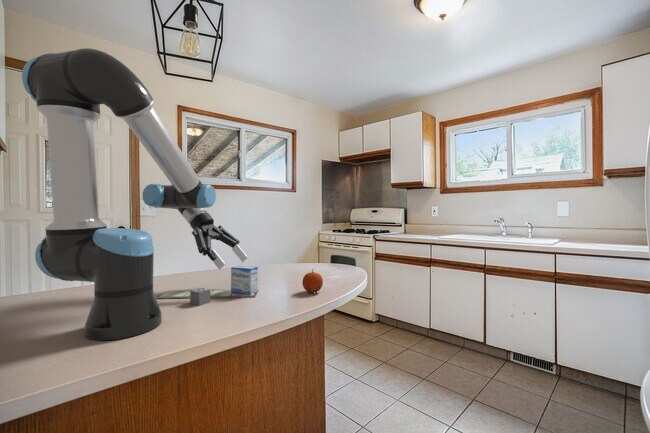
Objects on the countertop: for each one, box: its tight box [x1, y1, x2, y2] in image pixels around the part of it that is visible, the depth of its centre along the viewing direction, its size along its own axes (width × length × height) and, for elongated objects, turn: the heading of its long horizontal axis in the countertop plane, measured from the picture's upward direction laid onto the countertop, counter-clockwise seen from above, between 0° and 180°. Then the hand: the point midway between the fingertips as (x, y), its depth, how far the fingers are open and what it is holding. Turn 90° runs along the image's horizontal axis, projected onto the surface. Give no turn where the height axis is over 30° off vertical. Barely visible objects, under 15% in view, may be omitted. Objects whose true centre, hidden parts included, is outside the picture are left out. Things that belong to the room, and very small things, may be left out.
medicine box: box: [230, 265, 259, 295], centre depth 101 cm, size 8×4×9 cm, turn 71°
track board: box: [155, 289, 260, 300], centre depth 100 cm, size 31×9×1 cm, turn 94°
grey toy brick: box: [189, 287, 212, 307], centre depth 91 cm, size 4×4×4 cm
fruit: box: [301, 268, 324, 294], centre depth 102 cm, size 7×7×8 cm
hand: (234, 263), depth 104 cm, fingers open, 13 cm apart
